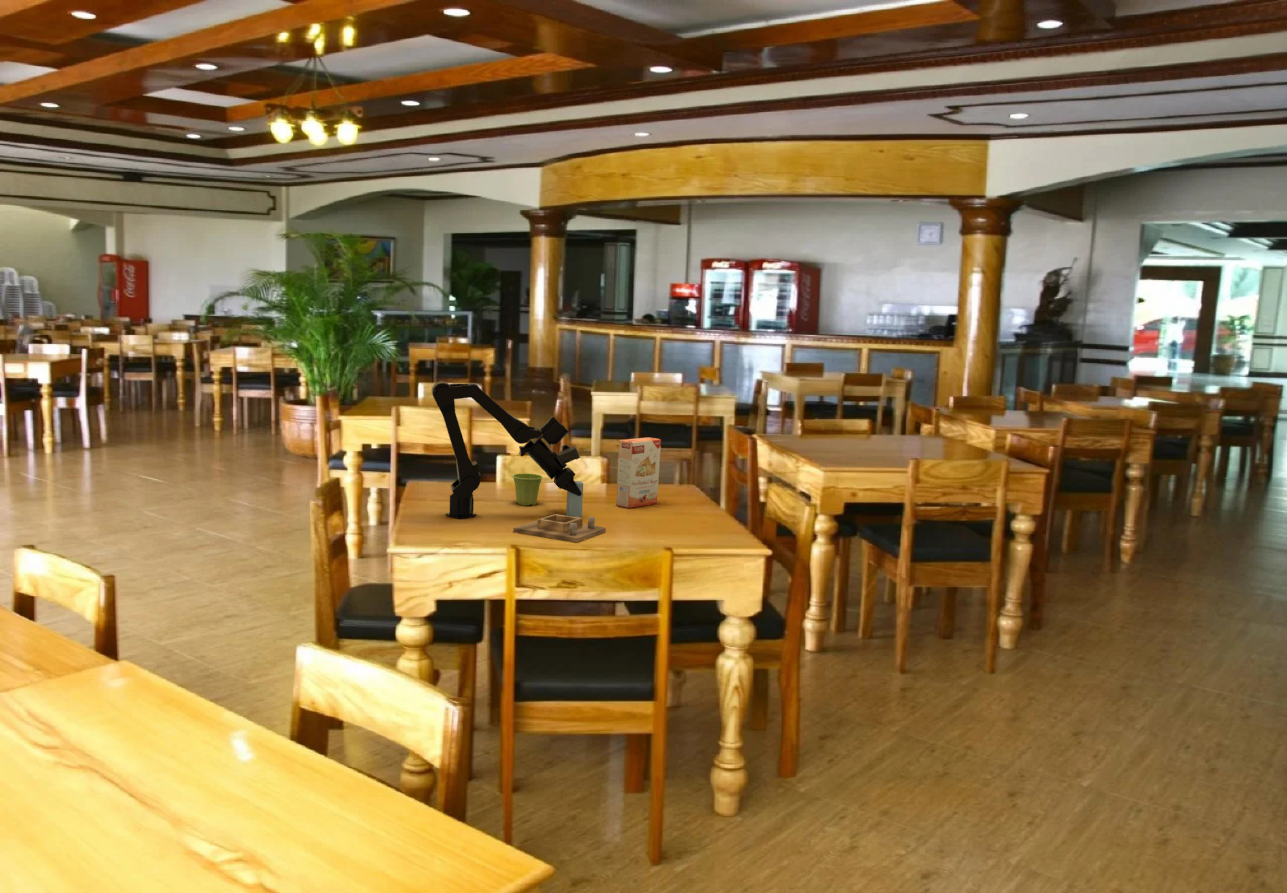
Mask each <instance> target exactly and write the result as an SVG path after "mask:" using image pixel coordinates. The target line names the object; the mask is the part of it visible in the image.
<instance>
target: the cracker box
mask: <svg viewBox="0 0 1287 893" xmlns="http://www.w3.org/2000/svg"><path fill="white" fill-rule="evenodd" d="M661 448H662V440H661V439H660V438H655V437H648V436H647V437H640V438H627V439H620V440H619V447H618V450H619V451H618V467H617V480H616V481H617V482H616V484H617V485H616V497H615V498H616V501H615V502H616V503H615V506H618V507H621V508H626V509H633V508H637V507H645V506H648V505H654V504H657V503H658V492H659V479H660V478H659V476H660V461H661V450H662V449H661Z"/></svg>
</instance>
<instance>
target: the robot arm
mask: <svg viewBox="0 0 1287 893" xmlns="http://www.w3.org/2000/svg"><path fill="white" fill-rule="evenodd" d="M431 395H432V396H433V400H434V401H435V403H436V405H437V406H438V409H439V411H440V413H441V415H442V417H443V422H444V424H445V427H446V431H447V433H448V437H449V440H450V443H451V447H452V450H453V453H454V457H455V462H456V463H455V464H456V474H457V479H456V480H455V481H454V482H452V483H451V484H450V488H451V491H452V493H451V494H450V495H449V512H447V513H446V512H445V516H447V517H452V518H456V519H459V520H460V519H468V518H472V517H476V516H477V515H478V514H477V513H474V505H475V504H474V503H475V502H474V500H475V499H474V492H475V491H476V490H477V489H478V488H479V486H480V485H481V484H480V483H481V478H482V475H481V474H480V471H479V465H478V463H477V461H476V460H474V461H471V458H470V457H469V454H468V450H467V447H466V443H465V441H464V437H463V434H462V431H461V427H460V424H459V420H458V417H457V414H456V405H455V400H461V399H462V400H463V399H469V398H471V399H472V400H474V401H475V403H477V404H478V405H479V406H480V407H481V408H483V409H484V410H485V412H487V413H488V414H489V415H491V417H493V418H494V419H495V420H496V421H497V422H498V423H500V424H501V425H502V427H503V428H504V429H505V431H506V432H507V433H508V434H509V436H510V437H511V438H512V439H513V440H514V441H515V443H516V444H521V445H519V446H518V449H519V452H518V454H519V455H520V457H524V456H525V455H526V454H528V456H529V457H530V458H531V459H532V460H533V461H534V462H535V463H536V464H537V465H538V466H539V467H540V469H541V470H542V471H544V473H545V474H546V476H548V477H549V478H550V479H551V480H553V483H554V484H555V486H557V487H558V489H560V490H561V489H562V490H563V491H566V492H567V491H568V492H571V493H573V494H575V495H578V496H581V495H582V493H581V491H580V490H579V488H578V486H577V485H576V483H575V481H576V480H575V477H576V475H577V474H576V472H574V471H573V469H571V467H568V463H570V462H572V461H575V460H579V459H580V458H581V456H580V454H579V452H578V450H577V447H576V446H575V445H571V446H569V445H568V444H566V443H565V444H563V445H561V450H560V451H559V452H557V453H556V452H555V451H554V450H552V449H551V448H550V447H549V446H551V445H554V446H556V445H558V443H559V442H560V441H562V440H563V439H564V438H565V437H567V434H570V432H569V430H568V429H567V428H566V426H564V425H563V424H562V423H561V422H559V421H558V419H556V418H555V417H554V416H550V417H549V418H548V420H547V421H546V422H545V423H544V424H543V425H542V426H541V427H540V428H539V427H537V426H529V425H527V423H525V422H524V421H522V420H520V419H519V418H518V417H515V416H514V415H512V414H510V413H509V412H508V411H506V409H504V408H503V407H502V406H501V405H499V403H497V402H496V401H495V400H494V399H493V398H491V397H490V396H489V395H488V394H487V393H485V391H483V390H482V389H481V387H480V386H479V385H478V384H476V383H475V382H469V383H448V381H447V382H446V381H444V380H440V381H436V382H435V383H434V384H433V385H432V387H431ZM542 439H543V440H542ZM544 441H545V442H546V443H547V444H548V445H549V446H548V445H547V444H546V443H545V442H544ZM523 444H525V445H523Z"/></svg>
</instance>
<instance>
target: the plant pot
mask: <svg viewBox="0 0 1287 893" xmlns="http://www.w3.org/2000/svg"><path fill="white" fill-rule="evenodd" d="M543 477H544V476H543V475H541V474H537V473H528V472H526V473H525V472H524V473H523V472H521V473H514V474H512V478H513V482H514V487H515V490H514V491H515V499H516V500H515V501H516V504H519V505H521V506H530V505H533V506H534V505H536V504H537V502H538V495H539V490H540V484H541V483H542V479H543Z"/></svg>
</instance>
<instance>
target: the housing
mask: <svg viewBox="0 0 1287 893" xmlns="http://www.w3.org/2000/svg"><path fill="white" fill-rule="evenodd" d="M583 520H584V519H583V517H571V516H567V515H563V514H556V513H554V514H551V515H548V516H547V515H546V516H544V517H541V518H538V519H536V520H534V521H530V522H528V523H525V524H521V525H518V526H515V527H513V528H512V529H513V530H512V532H513V533H515V534H516V533H517V534H522V535H527V534H529V536H535V537H541V538H547V539H553V540H557V541H565V542H570V543H576V542H578V543H579V542H582V540H583V541H585V540H584V539H586V540H588V539H590V538H593V537H596V536H599V535H601V534H603V533H606V532H607V531H606V530H607V528H606V527H604V526H597V525H595V522H596V517H595V516H588V519H587V524H585V523H584V522H583Z"/></svg>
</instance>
